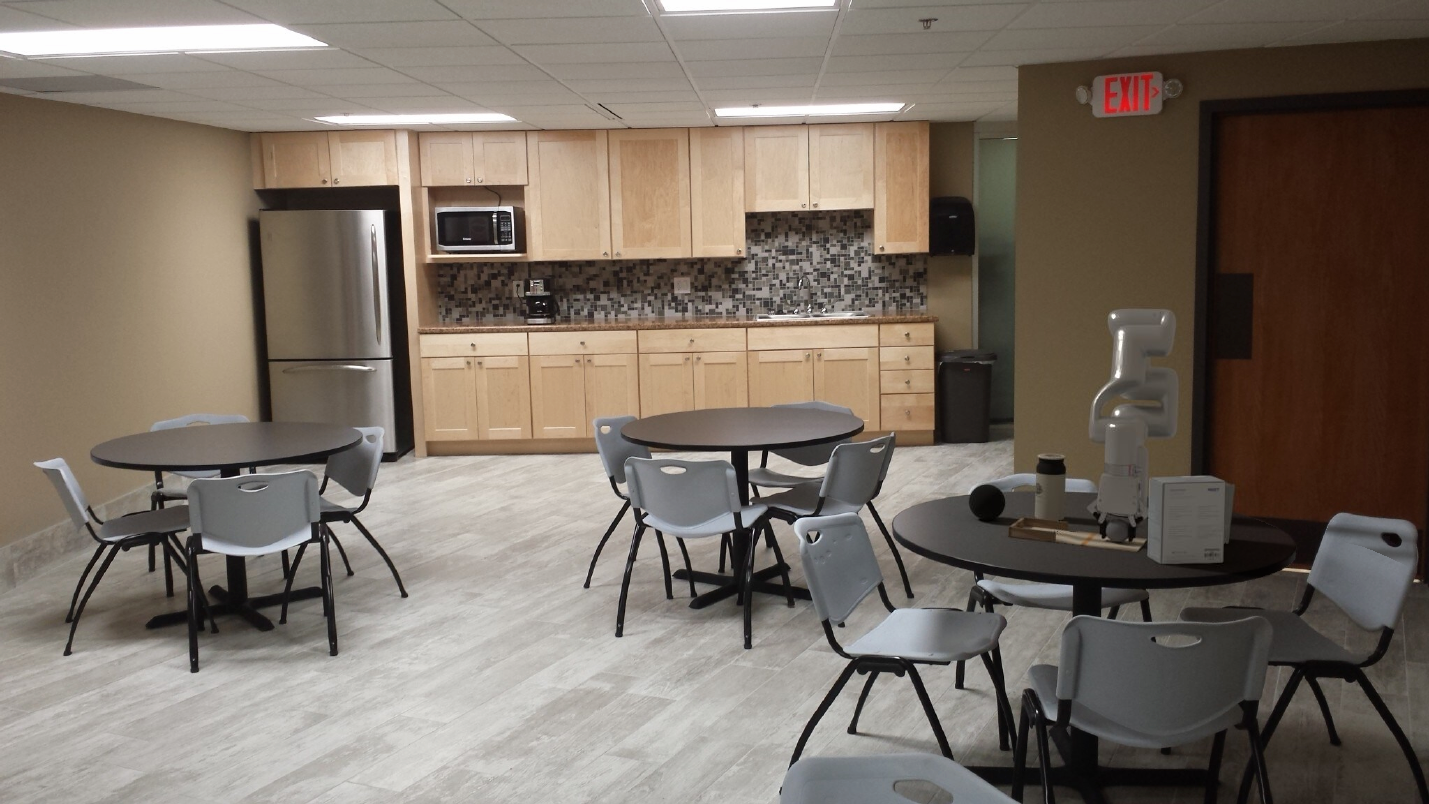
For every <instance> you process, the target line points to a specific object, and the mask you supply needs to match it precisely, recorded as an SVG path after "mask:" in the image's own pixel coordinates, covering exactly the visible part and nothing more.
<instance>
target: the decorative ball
mask: <svg viewBox="0 0 1429 804" xmlns="http://www.w3.org/2000/svg"><path fill="white" fill-rule="evenodd" d="M968 506H969V509H970V511H971V513H972V514H973V515H974V516H975V517H976V518H978V519H980V520H983V521H990V520H991V521H992V520H994V519H997V518H999V517H1000V516H1001V515H1002V514H1003V512H1004V510H1005V508H1006V498H1005V495H1004V493H1003V492H1002V490H1001V489H1000V488H998V487H997V486H995V485H992V484H987V483H986V484H981V485H978V486H976V487H975V488H974V489H973V490H972V491H971V493H970V495H969V497H968Z"/></svg>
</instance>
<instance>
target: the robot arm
mask: <svg viewBox="0 0 1429 804" xmlns="http://www.w3.org/2000/svg"><path fill="white" fill-rule="evenodd" d="M1107 326H1108V330H1109V332H1110V334H1111V336H1112V339H1113V344H1112V345H1113V346H1112V347H1113V348H1112V359H1111V370H1110V371H1111V372H1110V379H1109V381H1107V383H1105V384H1104V385H1103V386H1102V387H1100V389H1099V390H1098V391H1097V393H1096V394H1095V396H1094V398H1093V399H1092V402H1091V406H1090V412H1089V421H1088V437H1089V439H1090V441H1091V442H1092V443H1093V444H1095V445H1100V446H1101V445H1102V446H1105V447H1104V448H1105V449H1104V470H1103V471H1104V472H1101V476H1100V479H1099V485H1098V492H1097V498H1096V499H1095V500H1093V501H1092V502H1091V503H1090V504H1089V505H1088V506H1086V509H1087V510H1088V512H1089V513H1090V514H1092V516H1093V517H1094V518H1095V519H1096V520H1097V522H1098V523H1099V534H1100V535H1102V539H1105V538H1106V537H1107V535H1106V532H1105V528H1106V525H1107V524H1108V522H1107V517H1108V515H1109V514H1110V515H1114V516H1118V517H1125V518H1126V517H1127V518H1128V520H1129V523H1130V524H1129V536H1128V541H1129V542H1132V541H1133V538H1137V526H1138V525H1139V524H1141V522H1142V521H1144V520H1145V519H1147V518H1149V507H1148V506H1147V503H1148V484H1149V483H1148V481H1149V480H1148V478H1149V477H1148V475H1149V457H1150V456H1149V455H1150V454H1149V452H1148V451H1149V450H1148V449H1147V447H1146V446H1145V445H1144V443H1146V442H1145V441H1147V439H1155V440H1157V439H1158V440H1162V439H1163V440H1169V439H1172V438H1174V437H1175V436H1176V433H1177V431H1178V417H1179V416H1178V415H1179V390H1180V389H1179V378H1178V377H1179V376H1178V374H1177V372H1176V370H1175V369H1173V368H1170V367H1167V366H1165V367H1164V366H1163V367H1162V366H1152V365H1151V357H1154V358H1155V357H1158V358H1159V357H1160V358H1161V357H1162V358H1163V357H1168V356H1169V355H1170V354H1171V352H1172V350H1173V347H1174V344H1175V335H1176V328H1177V319H1176V315H1175V313H1174V312H1173V311H1172V310H1170V309H1165V308H1120V309H1115V310H1112V311H1110V313H1109V314H1108V316H1107ZM1117 396H1120V397H1121V398H1122V399H1124V400H1125V399H1126V400H1132V401H1151V402H1152V401H1153V402H1159V404H1145V403H1143V404H1141V403H1124V404H1119V405H1117V406H1116V407H1114V408H1113V410H1112V412H1111V415H1110V416H1106V415H1105V416H1104V415H1103V416H1102V412H1103V408H1104V406H1105V405H1106V404H1107V403H1108V402H1109V401H1110V400H1112V399H1114V398H1115V397H1117ZM1096 508H1097V509H1096Z"/></svg>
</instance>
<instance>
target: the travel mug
mask: <svg viewBox="0 0 1429 804" xmlns="http://www.w3.org/2000/svg"><path fill="white" fill-rule="evenodd" d="M1037 458H1038V463H1037V465H1036V466H1035V469H1036V470H1035V495H1034V496H1035V500H1034V502H1035V504H1034V518H1039V519H1048V520H1060V521H1063V520H1064V519H1065V511H1066V508H1065V506H1066V505H1065V504H1066V483H1067V482H1066V480H1067V479H1066V478H1067V477H1066V476H1067V467H1066V465H1065V458H1066V456H1065V455H1064V454H1059V453H1040V454H1038V455H1037Z"/></svg>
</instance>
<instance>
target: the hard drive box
mask: <svg viewBox="0 0 1429 804" xmlns="http://www.w3.org/2000/svg"><path fill="white" fill-rule="evenodd" d="M1148 478H1149V480H1148V481H1149V483H1148V485H1149V487H1148V508H1149V516H1148V520H1147V521H1148V524H1147V525H1148V526H1147V527H1148V530H1147V531H1148V533H1147V558H1150V559H1151V560H1153V561H1155V562H1156V563H1158V564H1159V565H1180V564H1217V563H1219V564H1222V563H1223V562H1224V545H1225V544H1224V520H1225V493H1226V483H1227V482H1226V480H1223V479H1220V478H1218V477H1215V476H1213V475H1185V476H1184V475H1183V476H1179V475H1178V476H1158V477H1157V476H1154V477H1148Z"/></svg>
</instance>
